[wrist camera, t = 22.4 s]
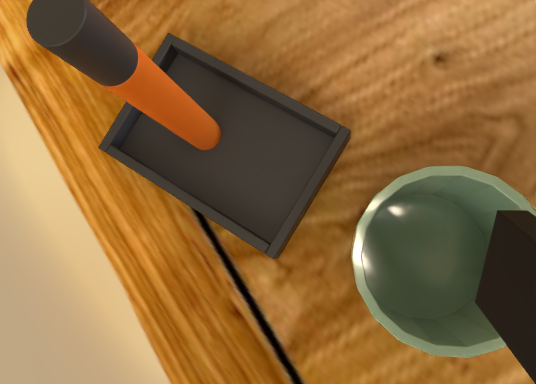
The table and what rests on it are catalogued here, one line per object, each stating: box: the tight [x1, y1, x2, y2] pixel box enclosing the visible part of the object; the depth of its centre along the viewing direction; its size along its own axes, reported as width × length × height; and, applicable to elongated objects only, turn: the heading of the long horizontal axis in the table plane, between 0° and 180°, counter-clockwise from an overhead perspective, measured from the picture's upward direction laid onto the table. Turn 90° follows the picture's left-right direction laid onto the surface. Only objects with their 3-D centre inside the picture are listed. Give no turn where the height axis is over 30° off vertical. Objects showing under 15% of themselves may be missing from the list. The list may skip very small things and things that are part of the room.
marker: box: [27, 0, 221, 150], centre depth 24 cm, size 2×2×17 cm
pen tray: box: [98, 33, 351, 259], centre depth 31 cm, size 15×10×2 cm, turn 59°
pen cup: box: [350, 166, 536, 358], centre depth 25 cm, size 9×9×8 cm
